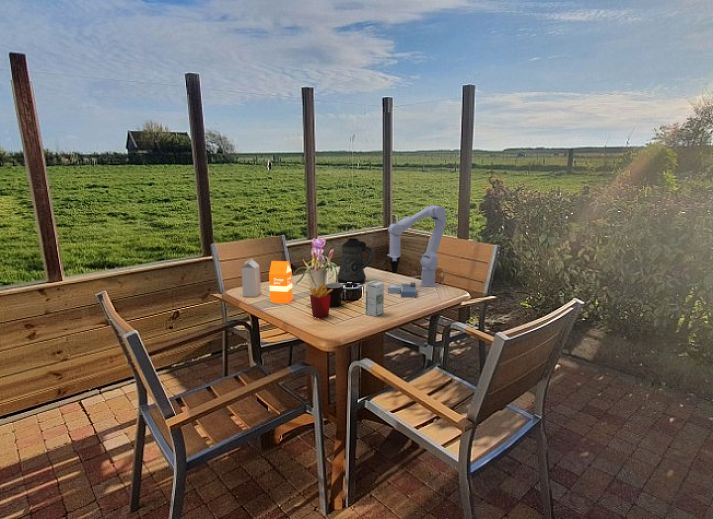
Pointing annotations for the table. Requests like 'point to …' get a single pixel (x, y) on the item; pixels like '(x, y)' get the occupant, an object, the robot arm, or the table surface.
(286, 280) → the orange juice
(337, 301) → the coffee mug
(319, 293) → the french fries
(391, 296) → the table surface
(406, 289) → the network switch box
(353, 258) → the beer stein
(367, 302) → the syrup box
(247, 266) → the milk carton
